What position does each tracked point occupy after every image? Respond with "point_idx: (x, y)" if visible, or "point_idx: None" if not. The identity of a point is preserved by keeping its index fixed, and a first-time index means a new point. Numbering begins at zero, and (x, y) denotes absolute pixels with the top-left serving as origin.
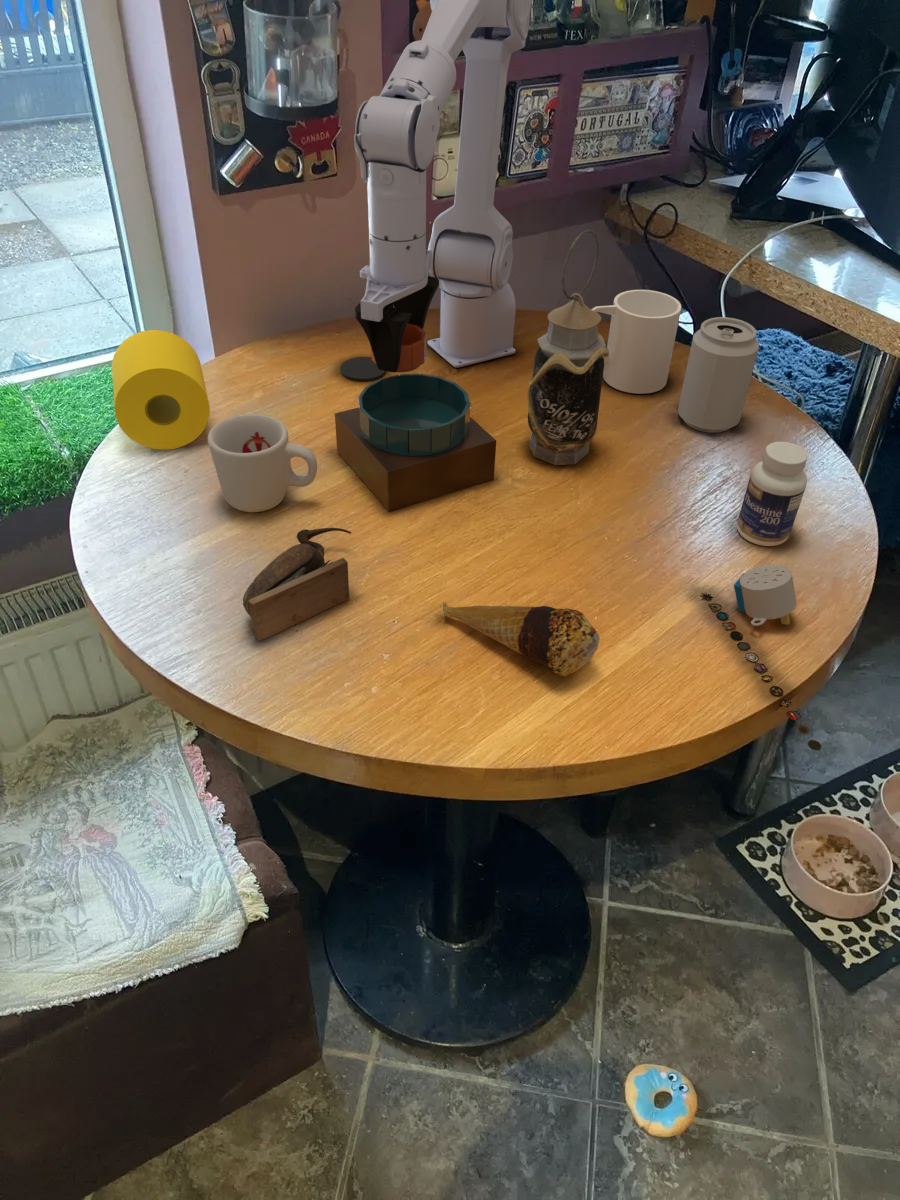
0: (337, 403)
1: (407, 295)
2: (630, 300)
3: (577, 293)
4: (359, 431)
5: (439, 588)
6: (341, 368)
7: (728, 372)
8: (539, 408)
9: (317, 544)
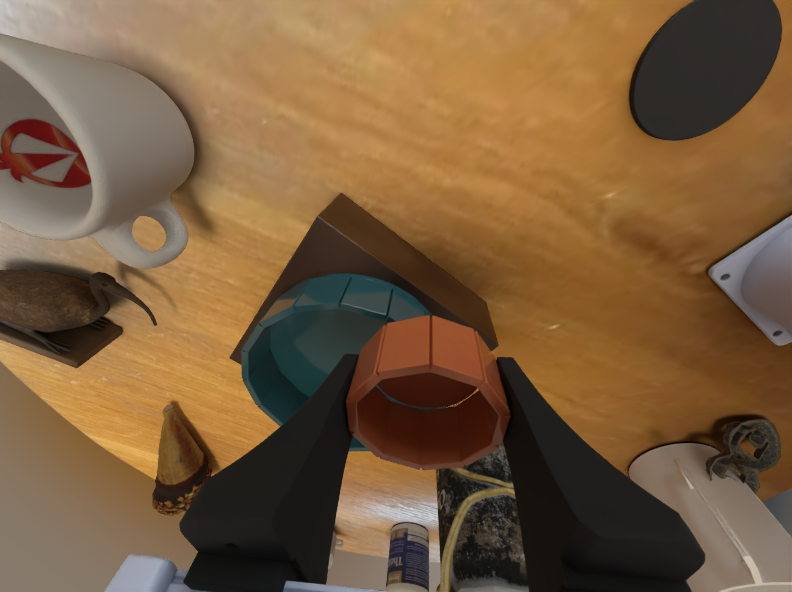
0: (510, 96)
1: (541, 524)
2: None
3: None
4: (290, 286)
5: (199, 389)
6: (695, 6)
7: None
8: (444, 484)
9: (99, 307)
